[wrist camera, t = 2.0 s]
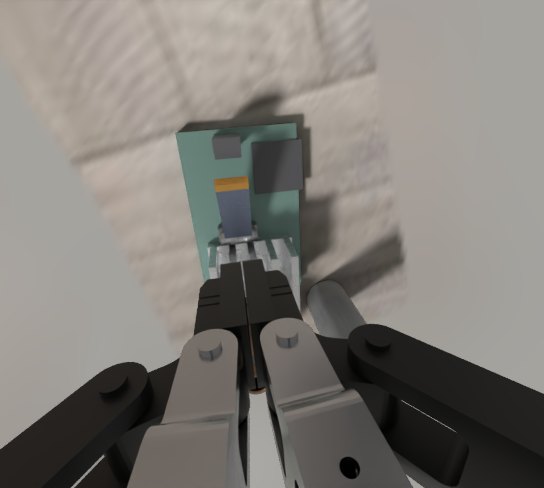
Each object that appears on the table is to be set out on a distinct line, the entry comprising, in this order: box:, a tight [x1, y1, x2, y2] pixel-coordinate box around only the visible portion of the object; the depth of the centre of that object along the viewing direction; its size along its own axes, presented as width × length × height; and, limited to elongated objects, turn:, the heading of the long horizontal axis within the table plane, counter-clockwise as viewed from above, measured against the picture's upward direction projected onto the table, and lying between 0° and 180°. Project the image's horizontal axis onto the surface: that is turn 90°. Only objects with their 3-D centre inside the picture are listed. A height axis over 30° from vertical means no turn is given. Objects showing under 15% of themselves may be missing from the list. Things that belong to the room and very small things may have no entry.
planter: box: [306, 280, 367, 339], centre depth 30 cm, size 4×4×10 cm
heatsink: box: [207, 221, 300, 311], centre depth 27 cm, size 8×8×5 cm
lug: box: [212, 133, 242, 160], centre depth 23 cm, size 2×2×4 cm
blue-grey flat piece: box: [214, 176, 257, 246], centre depth 24 cm, size 7×3×1 cm, turn 5°
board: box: [175, 123, 303, 284], centre depth 28 cm, size 16×10×1 cm, turn 4°
